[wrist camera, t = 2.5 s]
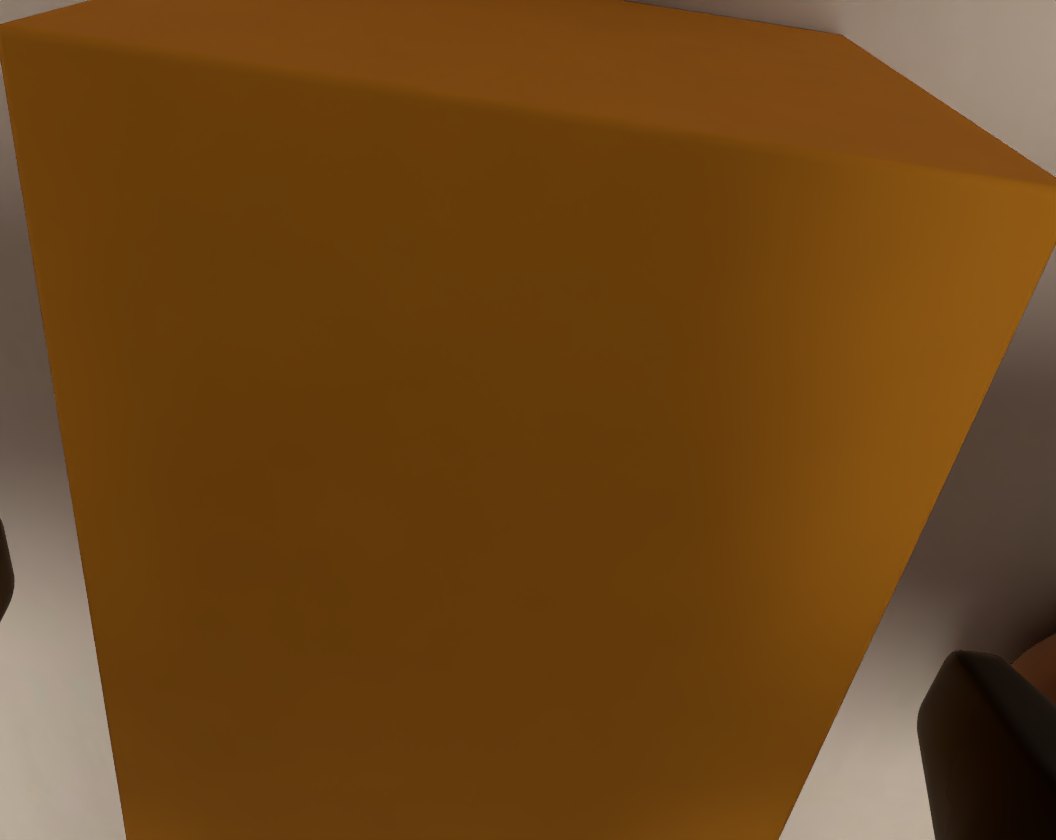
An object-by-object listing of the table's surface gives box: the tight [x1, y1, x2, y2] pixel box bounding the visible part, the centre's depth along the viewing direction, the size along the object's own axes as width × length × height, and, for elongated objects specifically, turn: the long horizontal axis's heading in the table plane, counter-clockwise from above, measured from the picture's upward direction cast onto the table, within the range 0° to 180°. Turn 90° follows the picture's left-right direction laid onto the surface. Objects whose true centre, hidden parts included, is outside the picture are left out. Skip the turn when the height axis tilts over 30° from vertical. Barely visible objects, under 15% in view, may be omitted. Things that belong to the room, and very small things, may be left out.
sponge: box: [0, 0, 1056, 840], centre depth 9 cm, size 10×6×5 cm, turn 172°
